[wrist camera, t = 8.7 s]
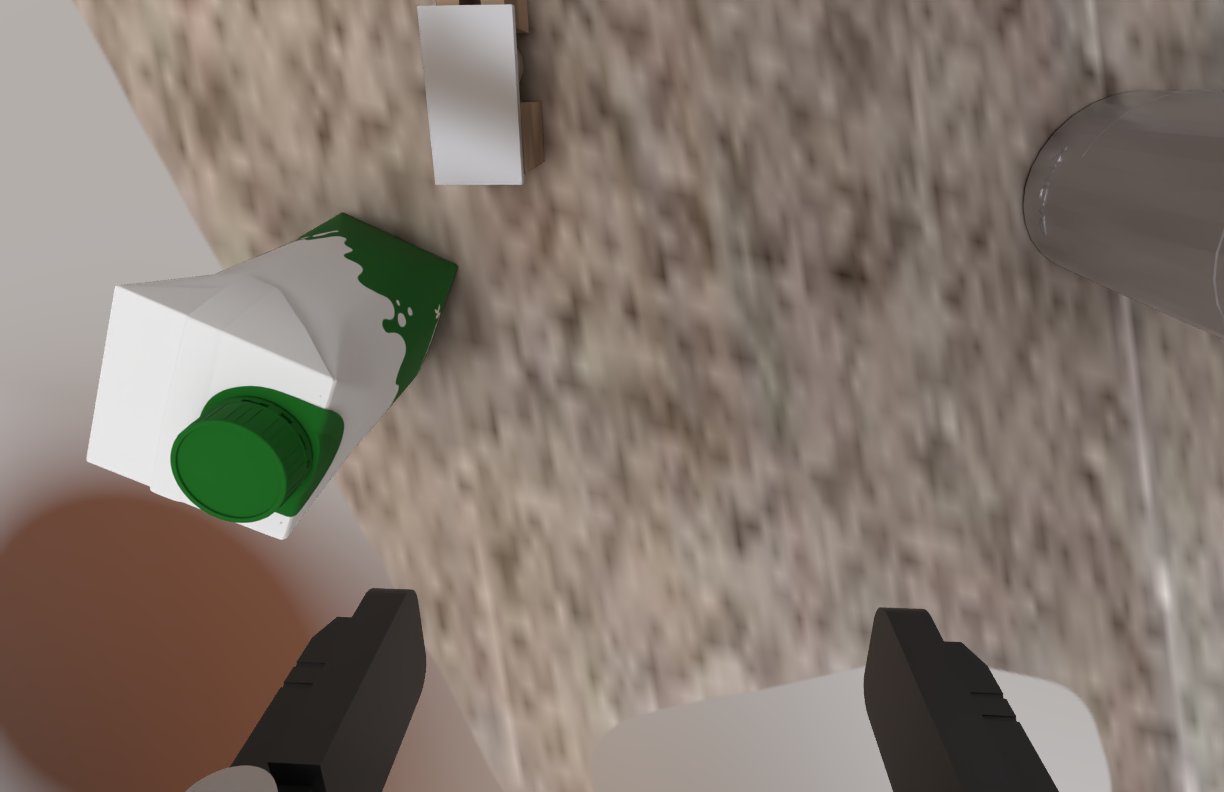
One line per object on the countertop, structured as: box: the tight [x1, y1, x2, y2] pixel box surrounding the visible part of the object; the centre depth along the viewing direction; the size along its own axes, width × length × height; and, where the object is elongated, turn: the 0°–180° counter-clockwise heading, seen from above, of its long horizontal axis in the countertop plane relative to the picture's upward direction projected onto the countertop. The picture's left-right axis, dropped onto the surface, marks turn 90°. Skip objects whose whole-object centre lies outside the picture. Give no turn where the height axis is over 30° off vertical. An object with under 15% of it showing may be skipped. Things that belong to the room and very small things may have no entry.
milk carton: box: [87, 213, 458, 540], centre depth 33 cm, size 9×9×20 cm
